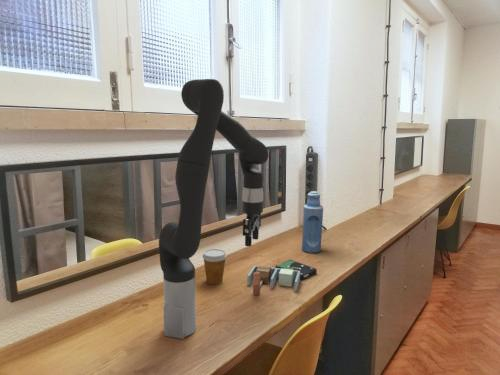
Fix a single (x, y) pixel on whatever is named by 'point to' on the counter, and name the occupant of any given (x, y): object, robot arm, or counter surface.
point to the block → (286, 277)
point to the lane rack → (275, 277)
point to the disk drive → (298, 268)
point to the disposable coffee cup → (214, 265)
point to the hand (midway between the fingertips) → (251, 242)
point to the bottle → (312, 224)
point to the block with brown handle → (261, 278)
